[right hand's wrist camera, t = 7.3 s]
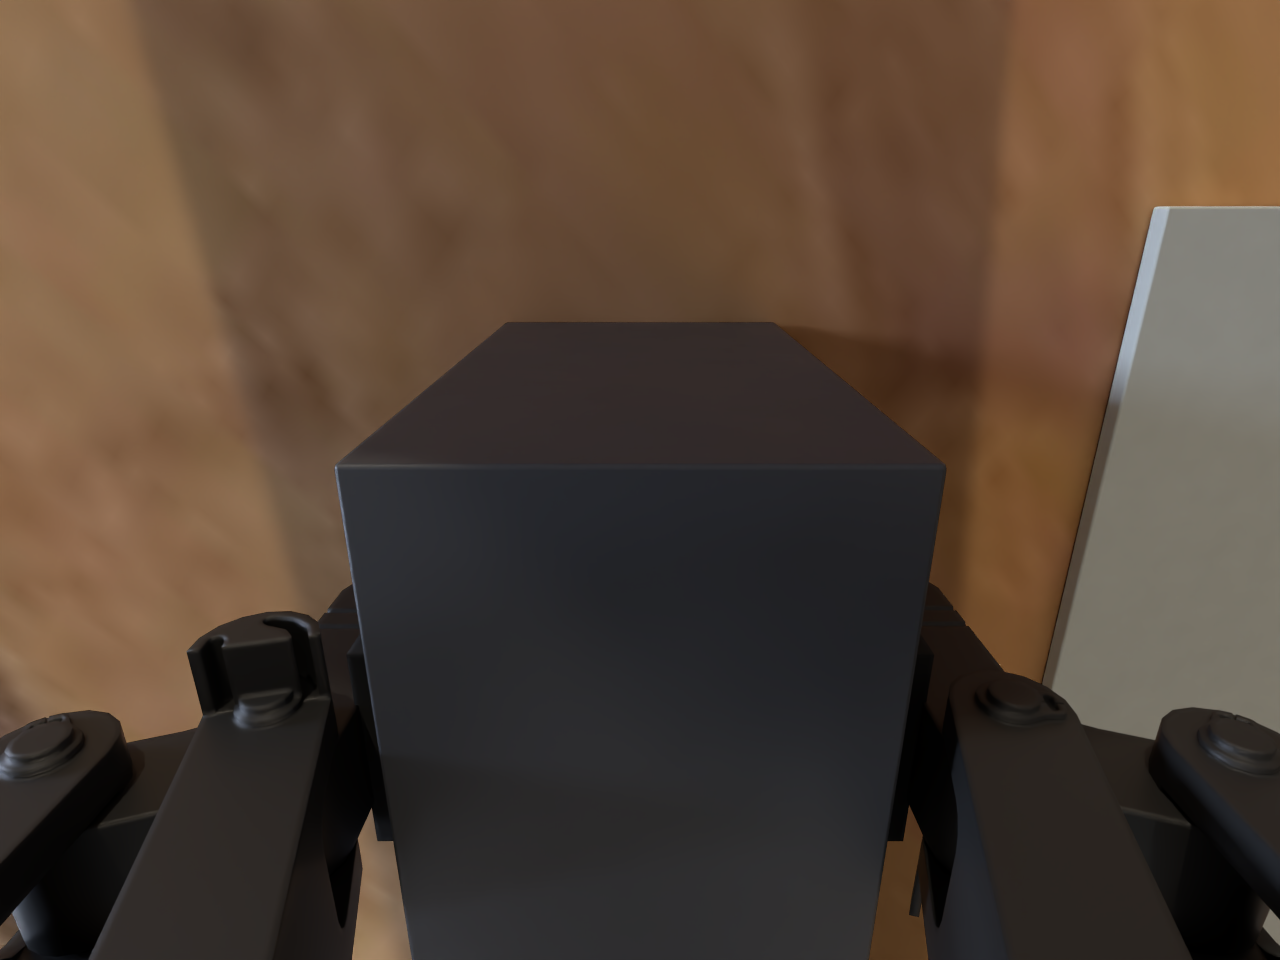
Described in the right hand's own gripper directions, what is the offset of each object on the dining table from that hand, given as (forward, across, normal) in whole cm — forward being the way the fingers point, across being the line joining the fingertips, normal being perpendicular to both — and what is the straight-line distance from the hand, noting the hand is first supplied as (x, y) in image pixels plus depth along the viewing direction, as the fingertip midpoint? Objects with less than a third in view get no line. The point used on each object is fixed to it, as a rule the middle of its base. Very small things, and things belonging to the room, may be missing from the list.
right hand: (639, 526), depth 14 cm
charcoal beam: (0, 0, -12) cm, 12 cm away
